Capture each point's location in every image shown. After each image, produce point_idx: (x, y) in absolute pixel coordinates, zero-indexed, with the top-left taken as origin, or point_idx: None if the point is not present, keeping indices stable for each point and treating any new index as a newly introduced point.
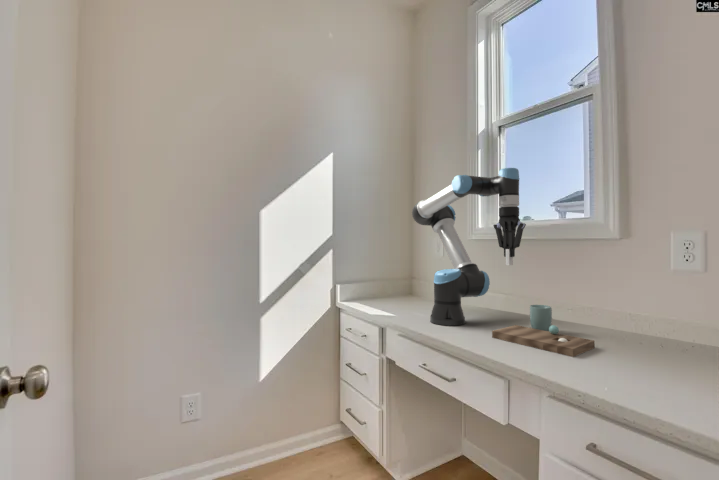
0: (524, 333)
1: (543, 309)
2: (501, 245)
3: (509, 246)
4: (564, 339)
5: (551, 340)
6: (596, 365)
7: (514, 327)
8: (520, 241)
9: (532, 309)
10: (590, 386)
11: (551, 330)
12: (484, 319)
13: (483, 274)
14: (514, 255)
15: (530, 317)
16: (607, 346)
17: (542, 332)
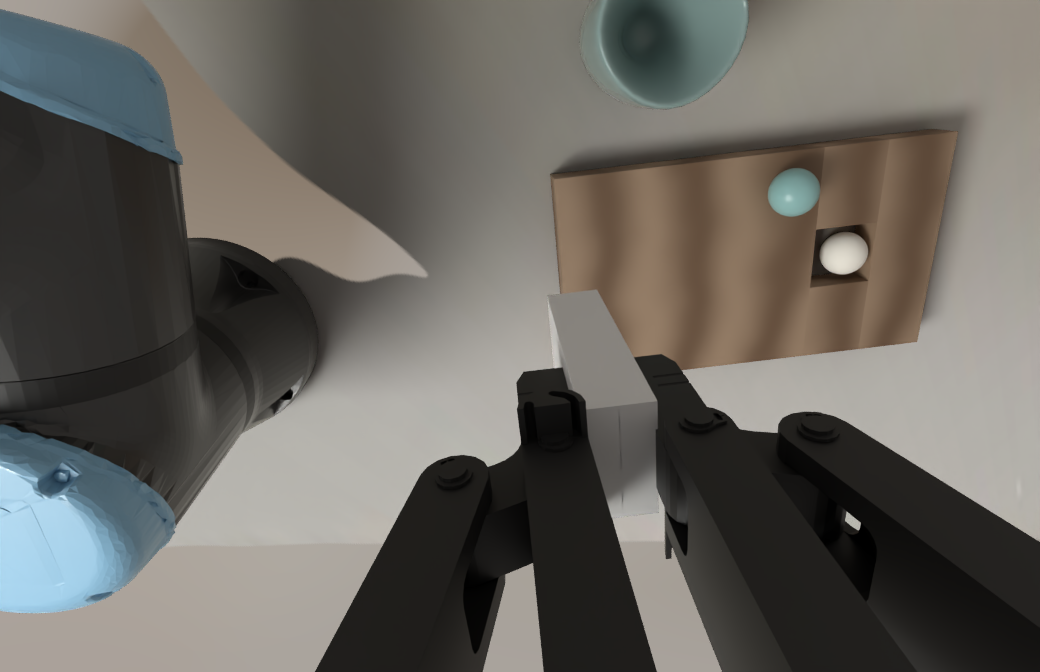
0: (685, 300)
1: (717, 81)
2: (496, 582)
3: (678, 543)
4: (862, 263)
5: (817, 303)
6: (975, 346)
7: (587, 237)
8: (955, 494)
9: (642, 105)
10: (988, 504)
11: (790, 216)
12: (228, 67)
13: (9, 107)
14: (677, 369)
15: (605, 89)
16: (972, 38)
17: (729, 206)
